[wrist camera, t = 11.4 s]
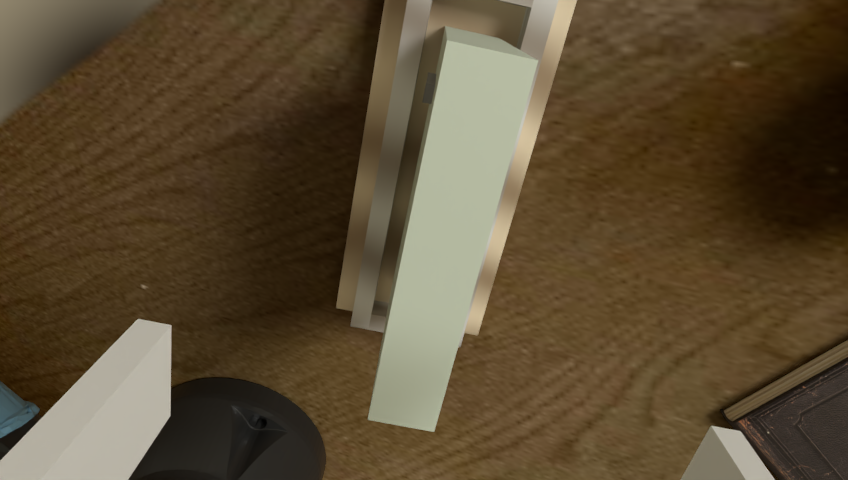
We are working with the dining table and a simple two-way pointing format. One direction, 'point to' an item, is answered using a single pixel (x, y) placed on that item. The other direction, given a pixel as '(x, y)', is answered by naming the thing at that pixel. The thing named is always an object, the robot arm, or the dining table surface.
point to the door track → (403, 129)
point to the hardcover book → (800, 420)
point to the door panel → (448, 219)
